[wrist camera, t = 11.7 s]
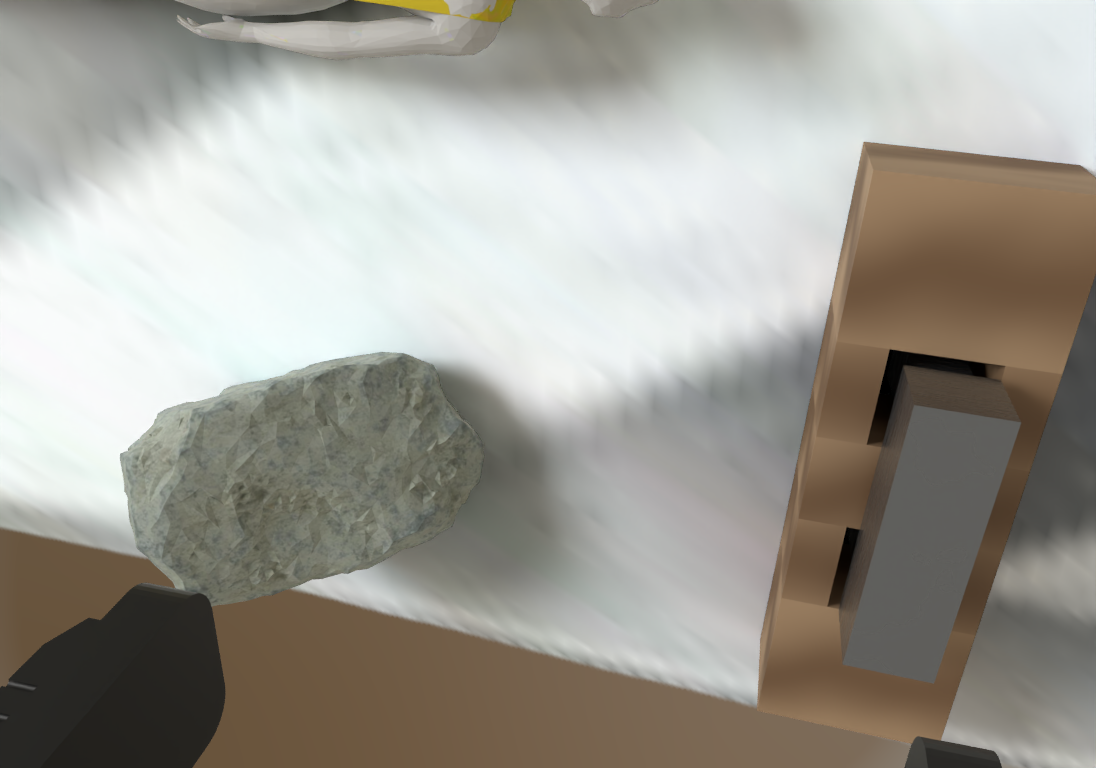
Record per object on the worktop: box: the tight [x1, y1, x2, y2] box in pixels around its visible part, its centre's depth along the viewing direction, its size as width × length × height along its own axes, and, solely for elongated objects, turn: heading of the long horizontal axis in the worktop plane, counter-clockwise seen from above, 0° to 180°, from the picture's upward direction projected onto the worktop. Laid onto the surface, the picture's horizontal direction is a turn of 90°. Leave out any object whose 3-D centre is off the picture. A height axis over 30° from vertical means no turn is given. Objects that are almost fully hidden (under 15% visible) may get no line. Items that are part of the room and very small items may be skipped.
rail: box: [757, 142, 1096, 744], centre depth 35 cm, size 22×7×4 cm, turn 176°
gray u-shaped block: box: [839, 350, 1021, 684], centre depth 34 cm, size 10×3×8 cm, turn 176°
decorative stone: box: [120, 352, 484, 607], centre depth 40 cm, size 14×11×10 cm
